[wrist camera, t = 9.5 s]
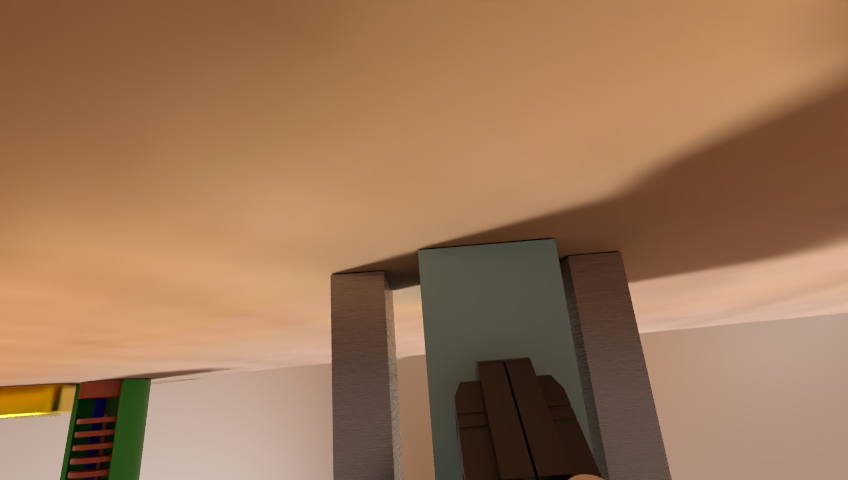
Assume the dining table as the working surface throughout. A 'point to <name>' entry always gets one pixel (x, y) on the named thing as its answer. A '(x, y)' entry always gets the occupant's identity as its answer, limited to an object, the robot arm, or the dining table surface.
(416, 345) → the dining table surface
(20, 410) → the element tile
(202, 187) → the dining table surface
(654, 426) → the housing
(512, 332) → the sage green rectangular prism
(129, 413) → the motor
